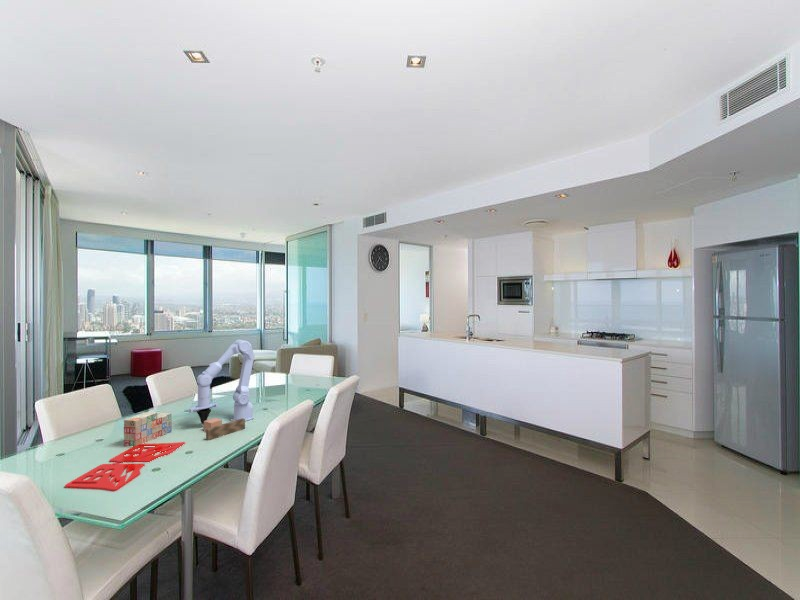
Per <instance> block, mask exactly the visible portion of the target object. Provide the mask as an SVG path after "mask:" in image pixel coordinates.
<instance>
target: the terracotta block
mask: <svg viewBox="0 0 800 600" xmlns="http://www.w3.org/2000/svg"><path fill="white" fill-rule="evenodd" d="M222 424H223V420H222V419H220V418H216V417H213V418H210V419H207V420H206V421H204V424H203V431H204V432H206V429H208V428H212V427H215V426H218V425H222Z"/></svg>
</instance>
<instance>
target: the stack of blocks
mask: <svg viewBox="0 0 800 600" xmlns="http://www.w3.org/2000/svg"><path fill="white" fill-rule="evenodd" d="M172 421H173V420H172V413H170V412H169V413H168V412H166V413H165V412H160V413H158V412H154V411H153V412H151V411H149V412H148V411H145V412H143V413H140V414H137V415H134V416H131V417H128V418H125V419H124V420H123V446H124V447H127V446H136V445H139V444H143V443H144V444H146V443H145V442H147V443H148V441H149V442H151V441H153V440H155V438H156V439H157V437H158V438H160V437H163V436H165V435H167V434H170V433H171V432H172V429H173V428H172V423H173V422H172ZM164 434H165V435H164ZM159 436H160V437H159ZM152 439H153V440H152ZM150 440H151V441H150Z"/></svg>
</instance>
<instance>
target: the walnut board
mask: <svg viewBox="0 0 800 600" xmlns="http://www.w3.org/2000/svg"><path fill="white" fill-rule="evenodd" d="M245 429H246V421H245V419H243V418H242V419H239V420H235V421H229V422H228V421H227V422H226V423H222V425H218V426H215V427H212V428H208V429H206V431H205V440H206V441H208V440H209V441H211V439H212V440H214V438H215V439H218V438H221V437H223V435H224V436H226V435H230V434H233V433H236V432H240V431H242V430H245Z"/></svg>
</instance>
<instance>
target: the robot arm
mask: <svg viewBox="0 0 800 600" xmlns="http://www.w3.org/2000/svg"><path fill="white" fill-rule="evenodd" d="M252 347H253V345H252V344H251V343H250V342H249V341H248V340H243V339H240V338H239V339H236V340H235V341H233V343H232V344H231V345H230V346H229V347H228V348H227V349H226V351H225V352H224V353H223V354H222V355H221V356H220V358H219V359H218V360H217V361H214V362H212V363H209V365H208V366H207V368H206V369H205V370H204V371H202V373H201V374H199V375H198V376H197V378H196V384H197V406H193V407H191V408H189V409H188V414H193V413H197V414H198V416H199V419H200V424H202V425H204V421H206V420H208V418H209V416H210V414H211V412H212V409H213V408H218V406H219V403H218V402H211V384H212V381H213V379H214V378H215V377H216V376H217V375H218V374H219V373H220V372H221V370H223V365H224V364H225V363H227V361H228V360H229V359H231V358H232V357H233V355H238V354H240V355H242V356H243V361H242V366H241V371H240V375H239V381H238V385H237V387H236V388H235V390H234V393H233V394H232V399H233V401H234V403H233V418H232V419H230V422H232V421H235V420H239V419H242V418H243V419H245V422H248V421H250V420H253V419H255V417H254V406H253V404H252V403H251V402H250V399H251V398H250V390H249V384H250V379H251V375H252V370H253V366H254V359H255V353H254V350H253V348H252Z"/></svg>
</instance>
